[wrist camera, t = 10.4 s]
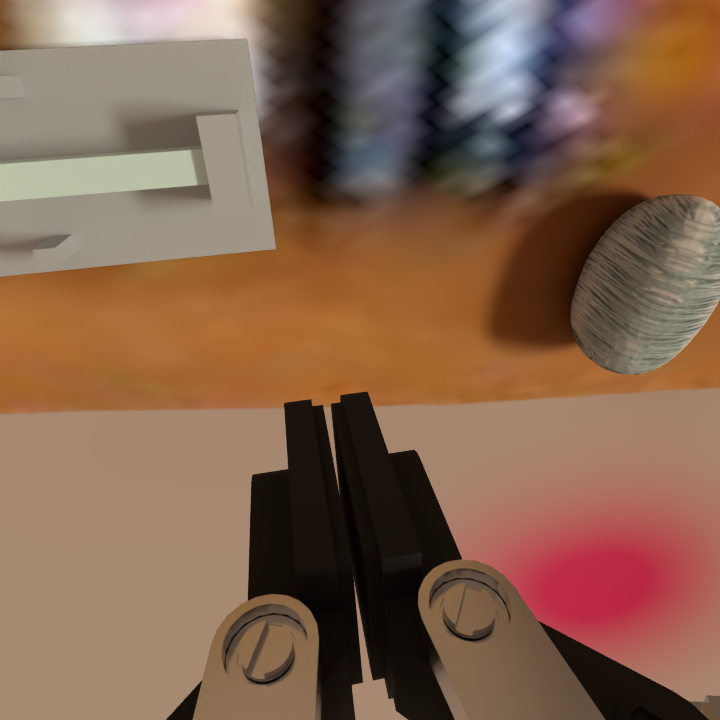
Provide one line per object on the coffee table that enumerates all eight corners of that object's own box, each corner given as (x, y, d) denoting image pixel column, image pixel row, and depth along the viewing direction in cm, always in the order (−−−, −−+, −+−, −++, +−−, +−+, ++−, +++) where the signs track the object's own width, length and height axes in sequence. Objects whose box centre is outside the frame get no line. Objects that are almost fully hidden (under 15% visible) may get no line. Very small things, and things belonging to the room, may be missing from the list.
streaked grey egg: (646, 382, 43) (700, 405, 33) (538, 343, 44) (560, 354, 34) (718, 229, 40) (799, 204, 31) (602, 193, 42) (645, 158, 32)
